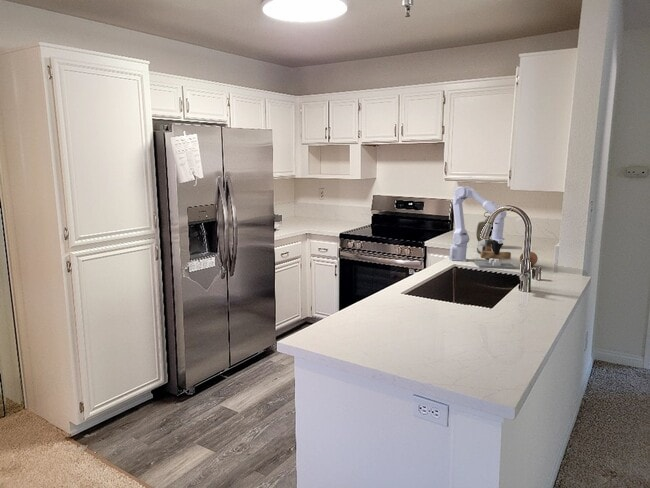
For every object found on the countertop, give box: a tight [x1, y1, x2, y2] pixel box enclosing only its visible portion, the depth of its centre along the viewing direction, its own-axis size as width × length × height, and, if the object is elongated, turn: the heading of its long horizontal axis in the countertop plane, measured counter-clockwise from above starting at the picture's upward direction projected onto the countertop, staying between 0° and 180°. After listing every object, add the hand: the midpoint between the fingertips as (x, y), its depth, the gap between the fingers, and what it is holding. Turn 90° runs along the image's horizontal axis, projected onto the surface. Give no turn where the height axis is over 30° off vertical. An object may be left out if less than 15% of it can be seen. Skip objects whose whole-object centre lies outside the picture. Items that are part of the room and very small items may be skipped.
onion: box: [519, 251, 539, 267], centre depth 272 cm, size 10×9×10 cm
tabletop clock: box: [475, 211, 493, 242], centre depth 330 cm, size 14×9×25 cm, turn 76°
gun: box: [476, 239, 492, 260], centre depth 300 cm, size 5×27×15 cm, turn 173°
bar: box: [480, 251, 512, 260], centre depth 270 cm, size 16×3×4 cm, turn 85°
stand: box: [473, 258, 517, 270], centre depth 270 cm, size 20×12×5 cm, turn 85°
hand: (495, 254), depth 270 cm, fingers closed on bar, 3 cm apart
